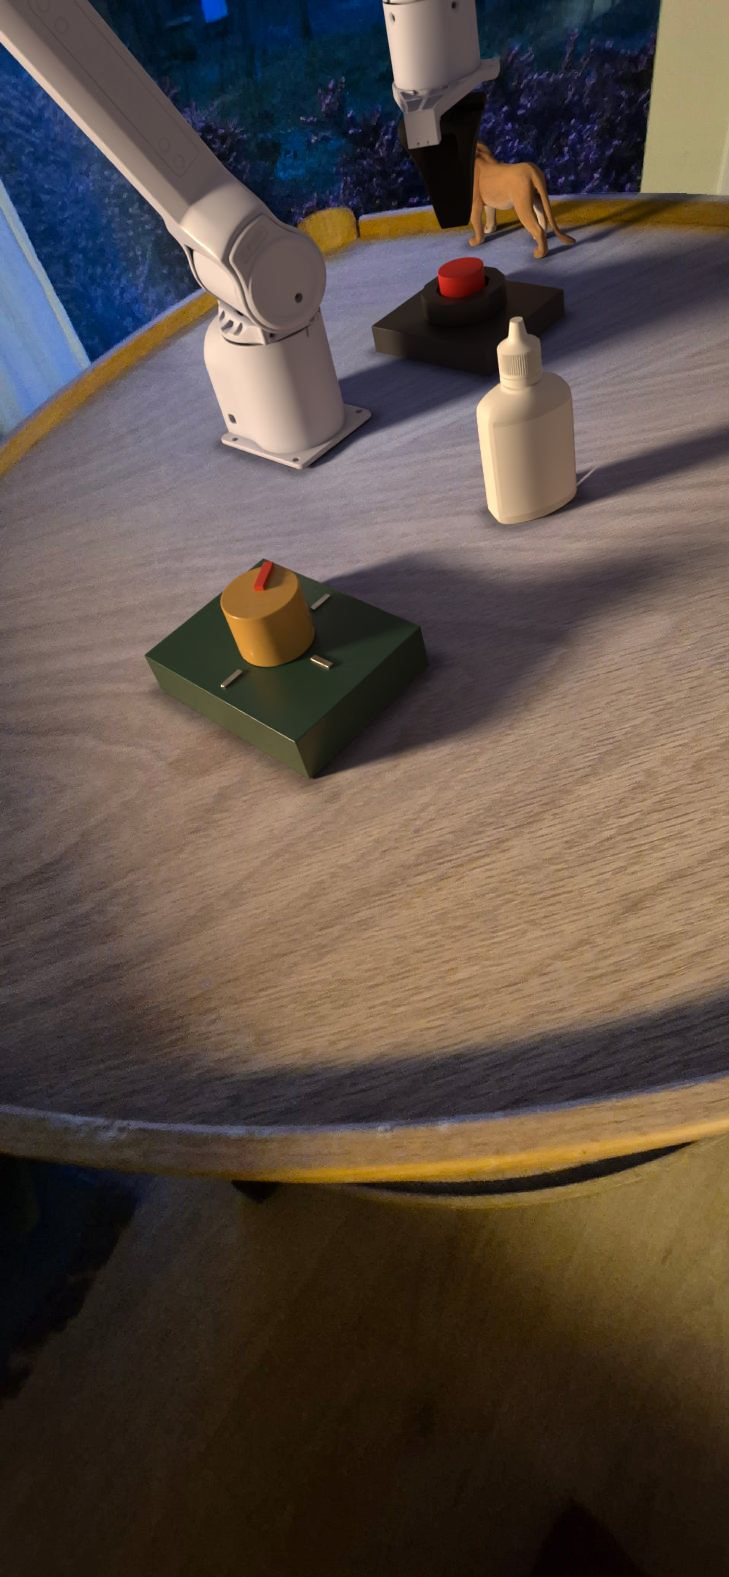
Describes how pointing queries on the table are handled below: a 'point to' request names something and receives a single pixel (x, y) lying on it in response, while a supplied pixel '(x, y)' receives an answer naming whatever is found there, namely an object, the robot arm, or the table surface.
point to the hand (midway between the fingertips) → (456, 223)
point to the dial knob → (268, 615)
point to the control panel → (294, 676)
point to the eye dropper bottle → (526, 434)
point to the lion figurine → (511, 198)
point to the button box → (466, 323)
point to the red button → (461, 277)
